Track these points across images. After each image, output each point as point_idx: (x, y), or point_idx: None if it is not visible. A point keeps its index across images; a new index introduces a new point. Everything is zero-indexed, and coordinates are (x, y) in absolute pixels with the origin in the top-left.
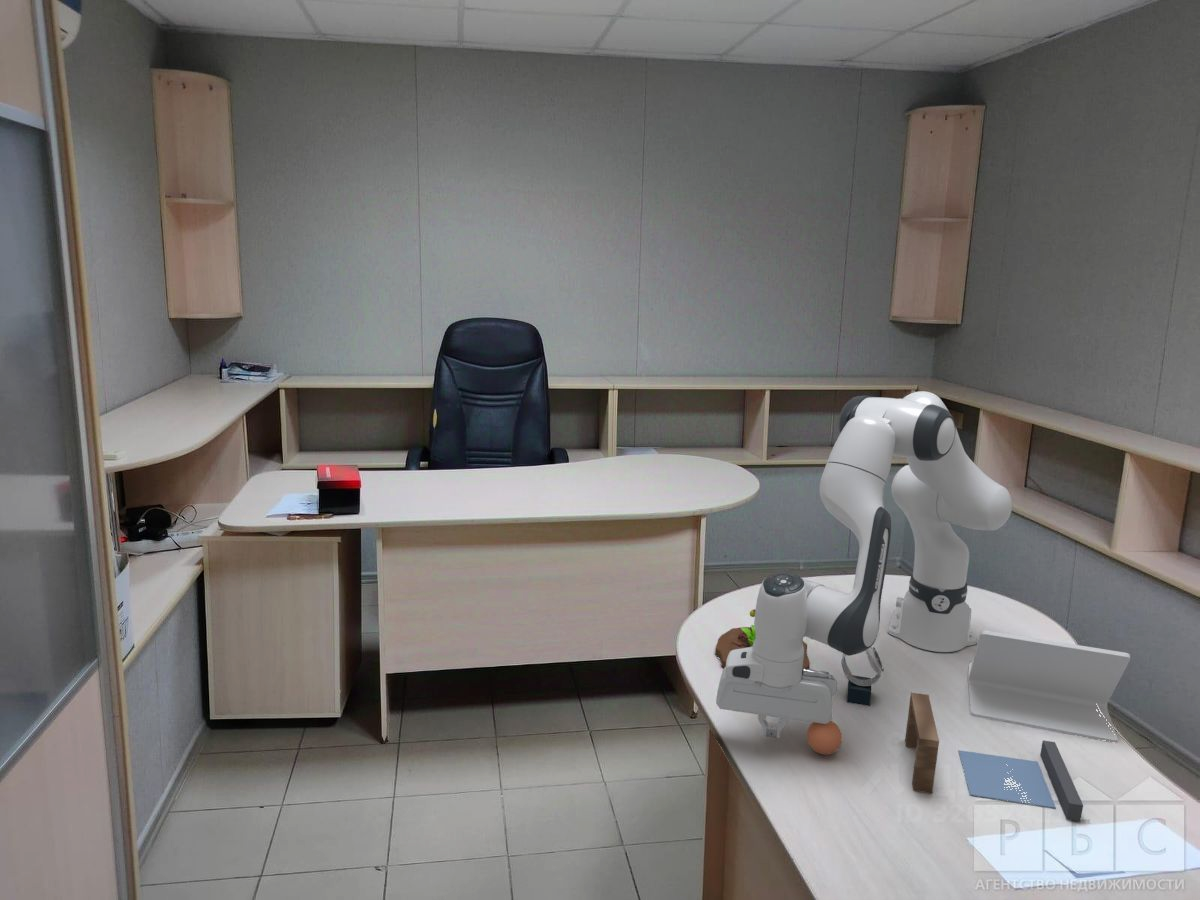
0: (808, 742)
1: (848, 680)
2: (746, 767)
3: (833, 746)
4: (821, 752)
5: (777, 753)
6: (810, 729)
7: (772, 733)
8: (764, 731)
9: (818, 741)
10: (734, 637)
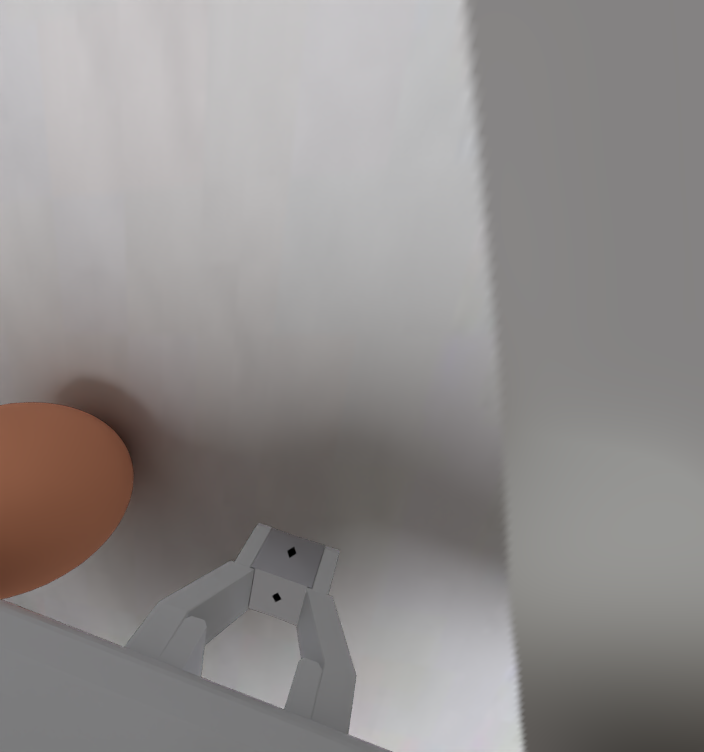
0: (121, 474)
1: None
2: (481, 336)
3: None
4: (77, 410)
5: (290, 446)
6: (40, 533)
7: (285, 551)
8: (327, 571)
9: (22, 441)
10: None
